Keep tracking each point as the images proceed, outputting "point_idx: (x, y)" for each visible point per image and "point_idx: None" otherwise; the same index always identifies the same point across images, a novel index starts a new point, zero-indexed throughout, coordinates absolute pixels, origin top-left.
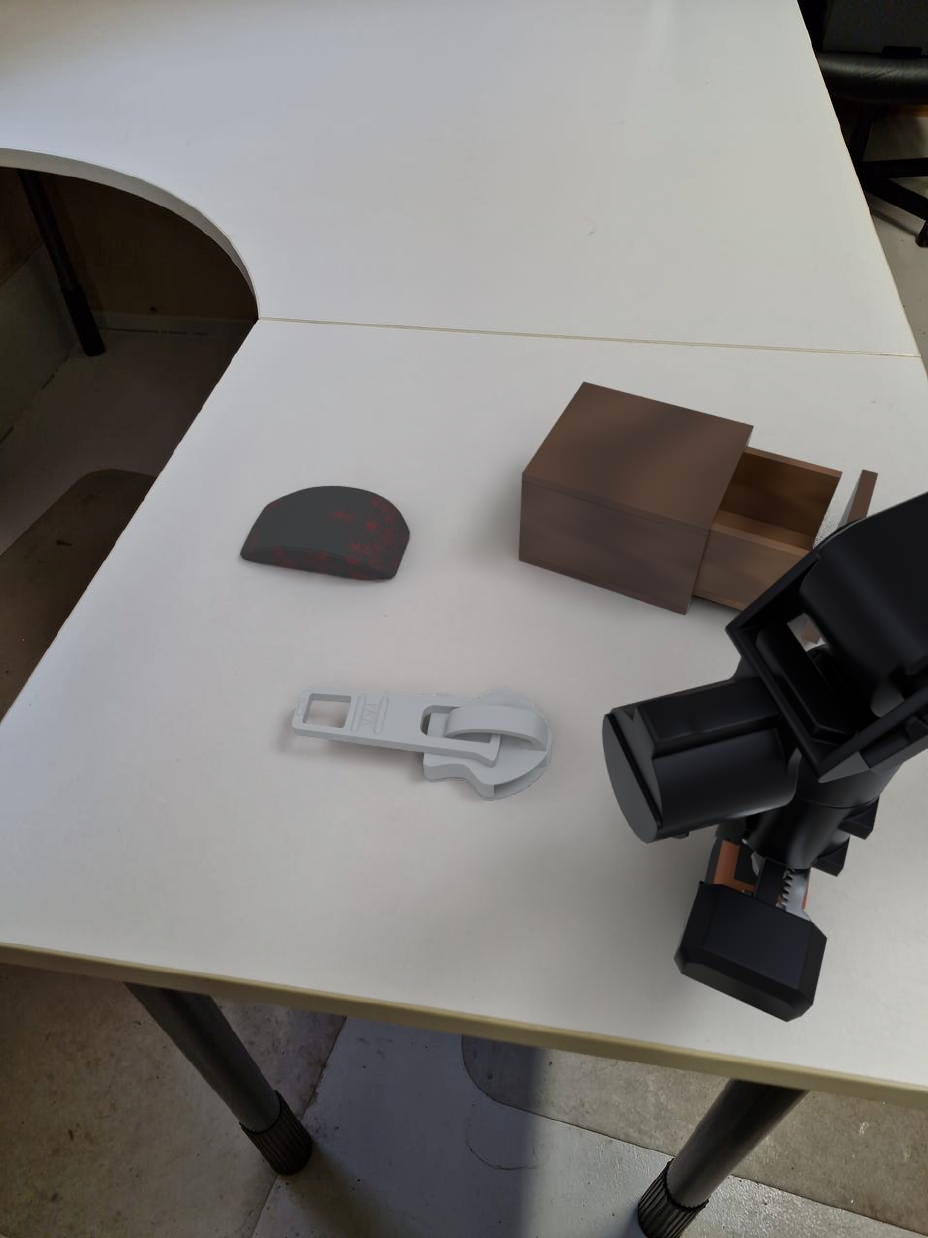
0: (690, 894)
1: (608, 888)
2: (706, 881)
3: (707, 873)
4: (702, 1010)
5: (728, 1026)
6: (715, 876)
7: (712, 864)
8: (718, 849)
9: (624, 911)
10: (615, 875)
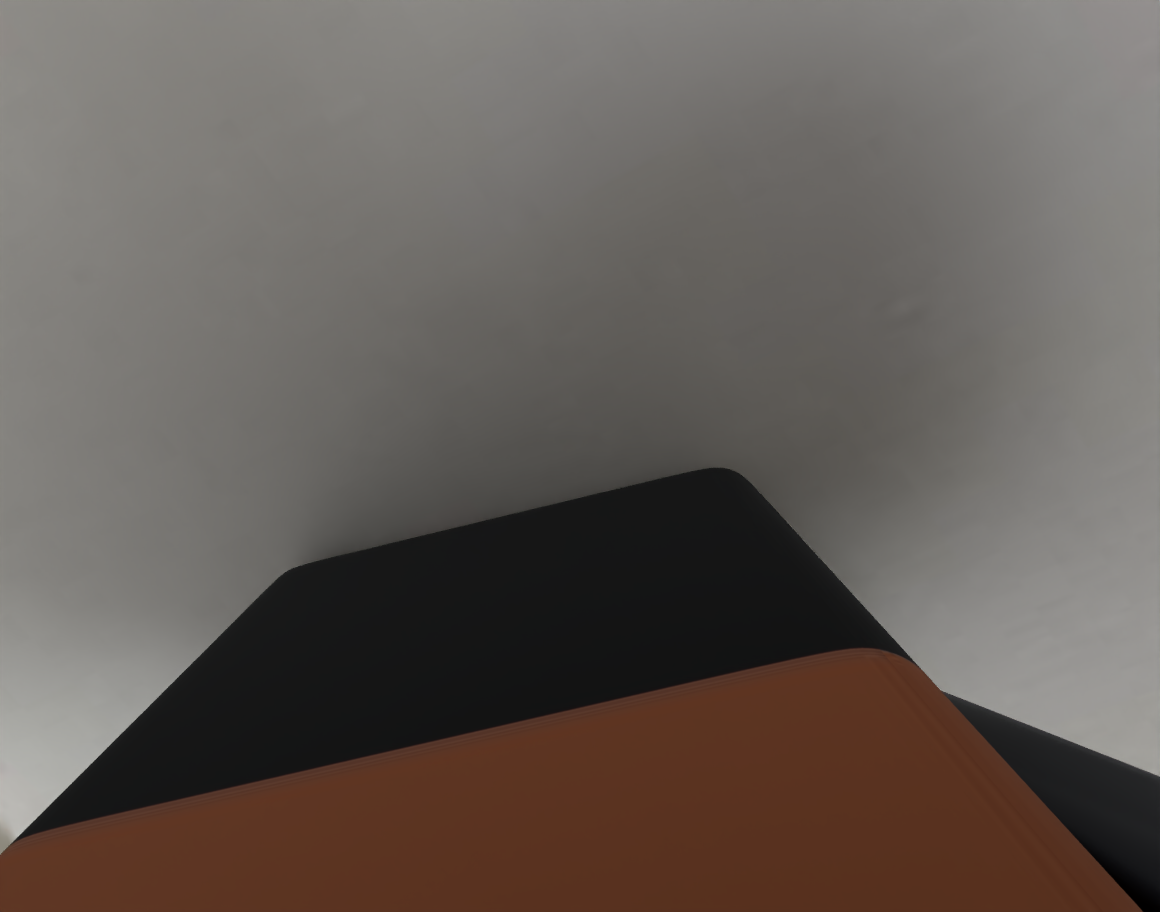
0: (466, 472)
1: (250, 134)
2: (485, 550)
3: (548, 523)
4: (76, 709)
5: None
6: (207, 806)
7: (529, 577)
8: (561, 631)
9: (204, 259)
10: (330, 130)
